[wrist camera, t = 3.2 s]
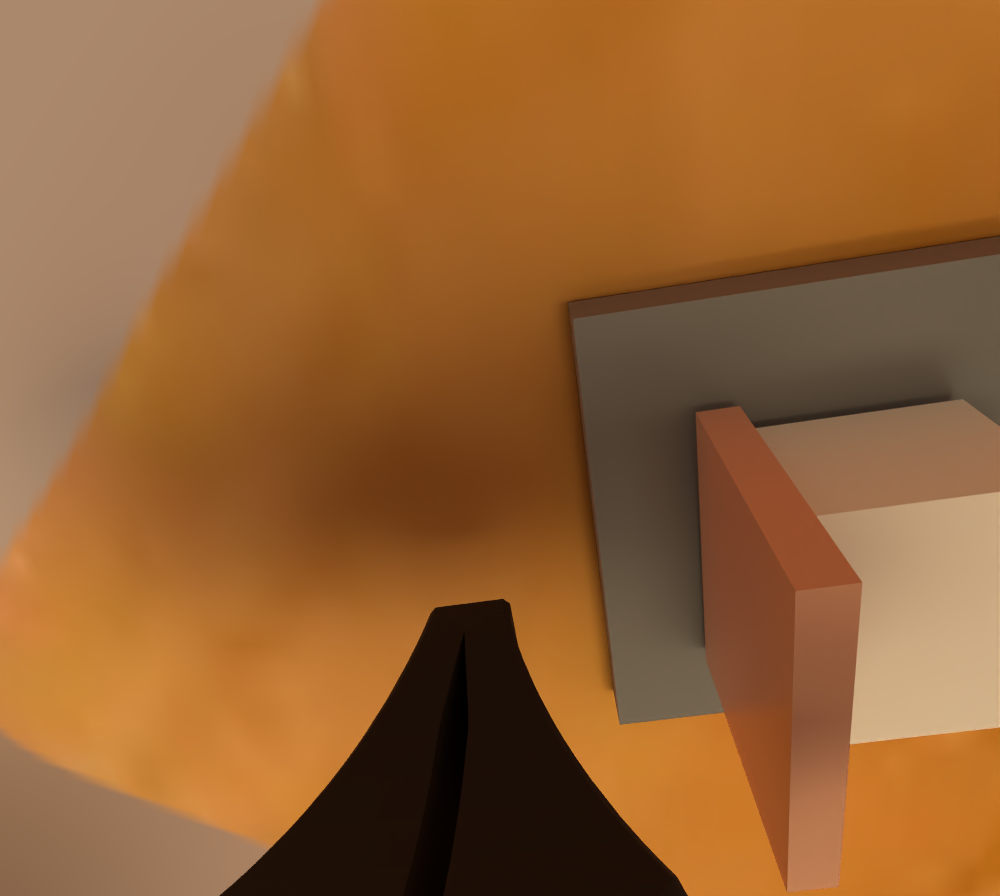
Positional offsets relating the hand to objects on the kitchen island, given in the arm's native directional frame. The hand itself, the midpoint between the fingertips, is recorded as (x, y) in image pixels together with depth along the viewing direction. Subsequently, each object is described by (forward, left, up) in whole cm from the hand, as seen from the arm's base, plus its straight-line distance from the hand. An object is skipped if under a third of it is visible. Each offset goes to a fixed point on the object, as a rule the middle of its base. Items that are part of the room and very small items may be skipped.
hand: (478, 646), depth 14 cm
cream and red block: (-7, +1, -2) cm, 8 cm away
